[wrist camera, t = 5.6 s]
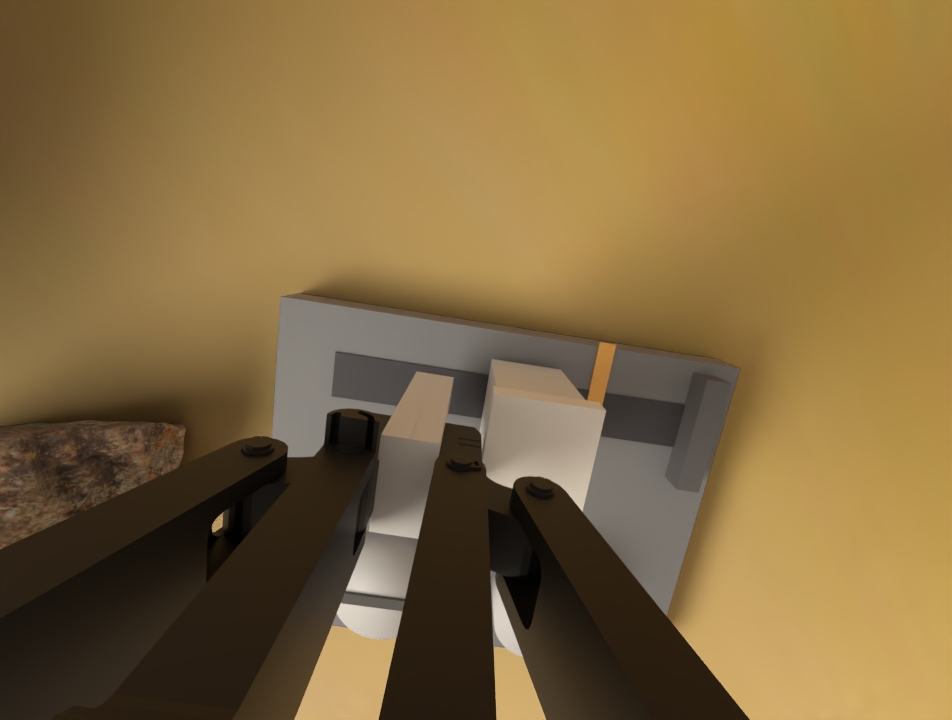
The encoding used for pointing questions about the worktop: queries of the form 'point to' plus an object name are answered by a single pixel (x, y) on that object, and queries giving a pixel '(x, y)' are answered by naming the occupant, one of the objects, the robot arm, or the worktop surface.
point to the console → (469, 360)
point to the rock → (76, 468)
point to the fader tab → (539, 428)
